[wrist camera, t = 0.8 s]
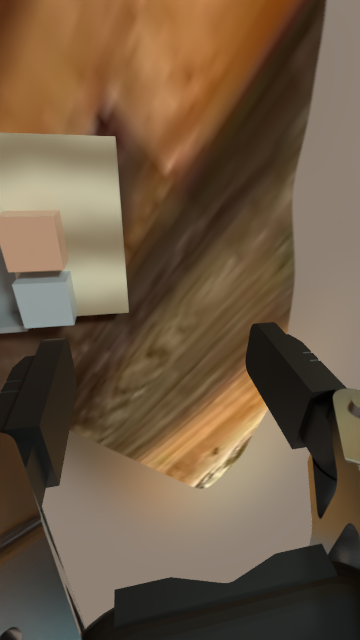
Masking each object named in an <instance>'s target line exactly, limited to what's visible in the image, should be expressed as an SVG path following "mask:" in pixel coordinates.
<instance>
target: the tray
mask: <svg viewBox="0 0 360 640" xmlns="http://www.w3.org/2000/svg"><path fill="white" fill-rule="evenodd" d="M15 280H16V276H15V272H8V270H7V267H6V263H5V260H4V257H3V253H2V250H1V247H0V333H13V332H26V331H28V330H29V328H25V327H24V324H23V321H22V317H21V314H20V310H19V307H18V304H17V300H16V297H15V294H14V290H13V287H12V284H13V283H14V281H15Z"/></svg>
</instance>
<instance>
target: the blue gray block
mask: <svg viewBox="0 0 360 640" xmlns="http://www.w3.org/2000/svg"><path fill="white" fill-rule="evenodd" d="M12 287H13V290H14V294H15V297H16V300H17V304H18V307H19V310H20V314H21V317H22V321H23V324H24V327H25V328H39V327H52V326H66V325H74V324H75V320H76V317H77V313H78V309H77V304H76V298H75V293H74V287H73V281H72V276H71V271H57V272H33V273H21V274H20V275H19V276H18V278H17V279H16V280H15V281H14V283H13V284H12Z"/></svg>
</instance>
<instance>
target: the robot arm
mask: <svg viewBox="0 0 360 640" xmlns="http://www.w3.org/2000/svg"><path fill="white" fill-rule="evenodd" d="M246 368H247V372H248V374H249V376H250V378H251V379H252V381H253V383H254V385H255V386H256V388H257V390H258V391H259V393H260V395H261V396H262V398H263V400H264V402H265V403H266V405H267V407H268V408H269V410H270V412H271V413H272V415H273V417H274V419H275V420H276V422H277V424H278V426H279V427H280V429H281V430H282V432H283V434H284V436H285V437H286V439H287V441H288V442H289V444H290V446H291V448H292V449H297V448H303V447H307V448H308V450H309V452H310V455H309V458H308V473H309V488H310V500H311V513H312V534H311V539H310V545H309V546H308V547H303V548H299V549H295V550H290V551H286V552H281V553H277V554H274V555H273V556H271V557H270V558H268V559H267V560H265V561H264V562H262V563H261V564H259V565H258V566H256V567H255V568H253V569H252V570H250V571H249V572H247V573H246V574H244V575H242V576H241V577H239V578H238V579H237V580H235V581H233V582H231V583H216V582H207V581H198V580H189V579H181V578H172V577H170V578H165V579H161V580H157V581H152V582H148V583H144V584H139V585H134V586H130V587H126V588H121V589H116V590H115V601H114V602H115V604H114V608H112V609H110V610H109V611H107V612H106V613H104V614H103V615H101V616H100V617H99V618H98V619H96V620H95V621H94V622H93V623H91V624H90V625H89V626H88V627H87V628H86V627H85V624H84V621H83V618H82V616H81V613H80V610H79V607H78V605H77V602H76V599H75V596H74V594H73V591H72V589H71V586H70V584H69V581H68V578H67V575H66V572H65V570H64V567H63V564H62V561H61V558H60V555H59V553H58V550H57V547H56V544H55V542H54V539H53V536H52V533H51V530H50V527H49V525H48V522H47V519H46V516H45V513H44V511H43V508H42V503H43V498H44V493H45V489H46V488H47V487H53V486H59V484H60V478H61V472H62V467H63V461H64V455H65V450H66V445H67V439H68V434H69V428H70V423H71V417H72V412H73V406H74V401H75V395H76V374H75V369H74V364H73V359H72V354H71V350H70V345H69V341H68V339H67V338H59V339H46V340H42V341H41V343H40V345H39V347H38V350H37V352H36V355H35V356H27V357H24V358H23V359H22V360H21V361H20V362H19V363H18V364H16V365H15V366H14V367H13V368H12V370H11V372H10V374H9V376H8V378H7V383H5V384H4V386H3V388H2V390H1V394H0V640H360V390H357V389H350V388H346V387H345V386H344V385H343V384H342V383H341V382H340V381H339V380H338V379H337V378H336V377H335V376H334V374H332V373H331V372H330V370H329V369H328V368H327V367H326V366H325V365H324V364H323V363H322V362H321V361H318V358H317V357H316V356H315V355H314V354H313V353H311V351H310V350H309V349H308V348H307V347H306V346H305V345H304V344H303V343H302V342H301V341H300V340H298V339H296V338H294V337H292V336H291V335H289V334H287V335H286V334H285V333H284V332H283V331H282V329H281V328H280V327H279V326H278V325H277V324H276V323H274V322H270V323H257V324H253V325H252V327H251V330H250V336H249V342H248V347H247V353H246Z"/></svg>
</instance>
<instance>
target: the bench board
mask: <svg viewBox="0 0 360 640" xmlns="http://www.w3.org/2000/svg"><path fill="white" fill-rule="evenodd" d="M33 210H60V215H61V221H62V226H63V232H64V237H65V243H66V248H67V254H68V259H69V260H68V262H67V264H66V266H65V269H64V270H55V271H31V272H15V276H16V279H17V278H18V276H19V275H20V274H21V273H33V272H57V271H71V276H72V281H73V287H74V293H75V298H76V304H77V309H78V313H77V316H84V315H99V314H114V313H129V308H128V293H127V280H126V267H125V254H124V241H123V229H122V216H121V203H120V190H119V177H118V164H117V151H116V138H115V137H114V136H84V135H55V134H26V133H0V213H1V212H3V211H33Z"/></svg>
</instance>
